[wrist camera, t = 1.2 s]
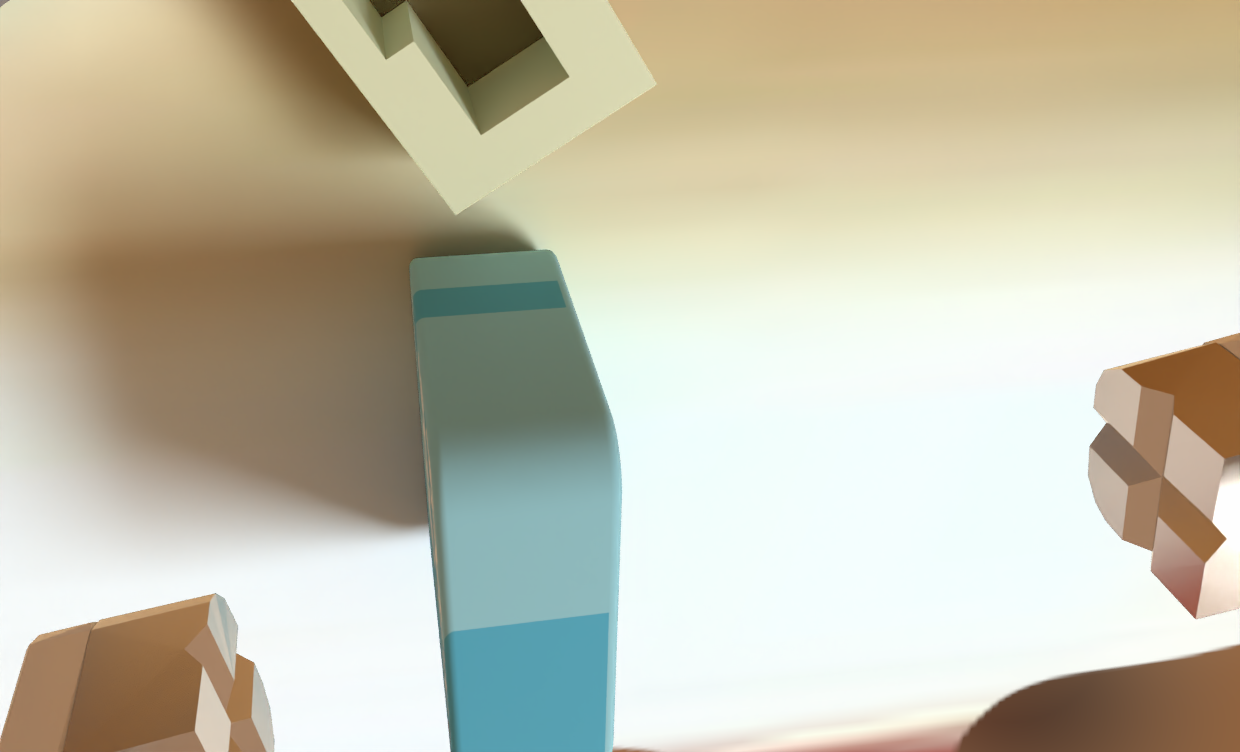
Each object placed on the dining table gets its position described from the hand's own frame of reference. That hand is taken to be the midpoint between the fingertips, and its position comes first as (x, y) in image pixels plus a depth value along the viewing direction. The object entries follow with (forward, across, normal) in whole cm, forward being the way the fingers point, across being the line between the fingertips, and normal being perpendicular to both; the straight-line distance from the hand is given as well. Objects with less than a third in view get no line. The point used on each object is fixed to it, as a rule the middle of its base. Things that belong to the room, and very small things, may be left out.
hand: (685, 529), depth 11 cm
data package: (+26, +2, +15) cm, 30 cm away
